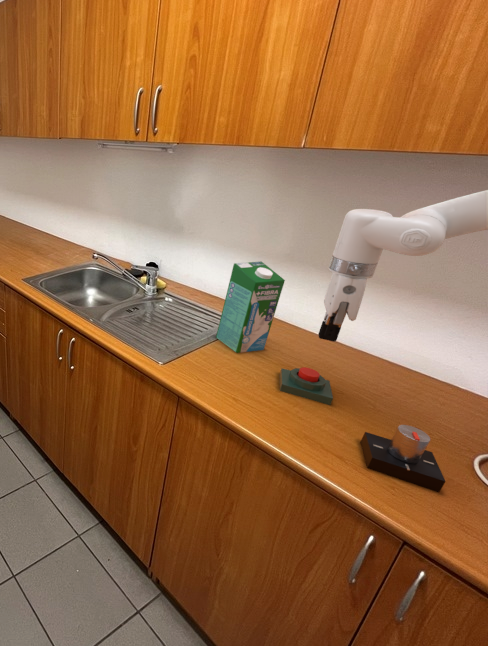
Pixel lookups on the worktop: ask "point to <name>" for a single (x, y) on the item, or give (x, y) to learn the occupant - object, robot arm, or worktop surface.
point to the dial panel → (401, 464)
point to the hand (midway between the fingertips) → (326, 338)
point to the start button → (308, 374)
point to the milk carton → (249, 306)
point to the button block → (305, 386)
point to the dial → (408, 444)
